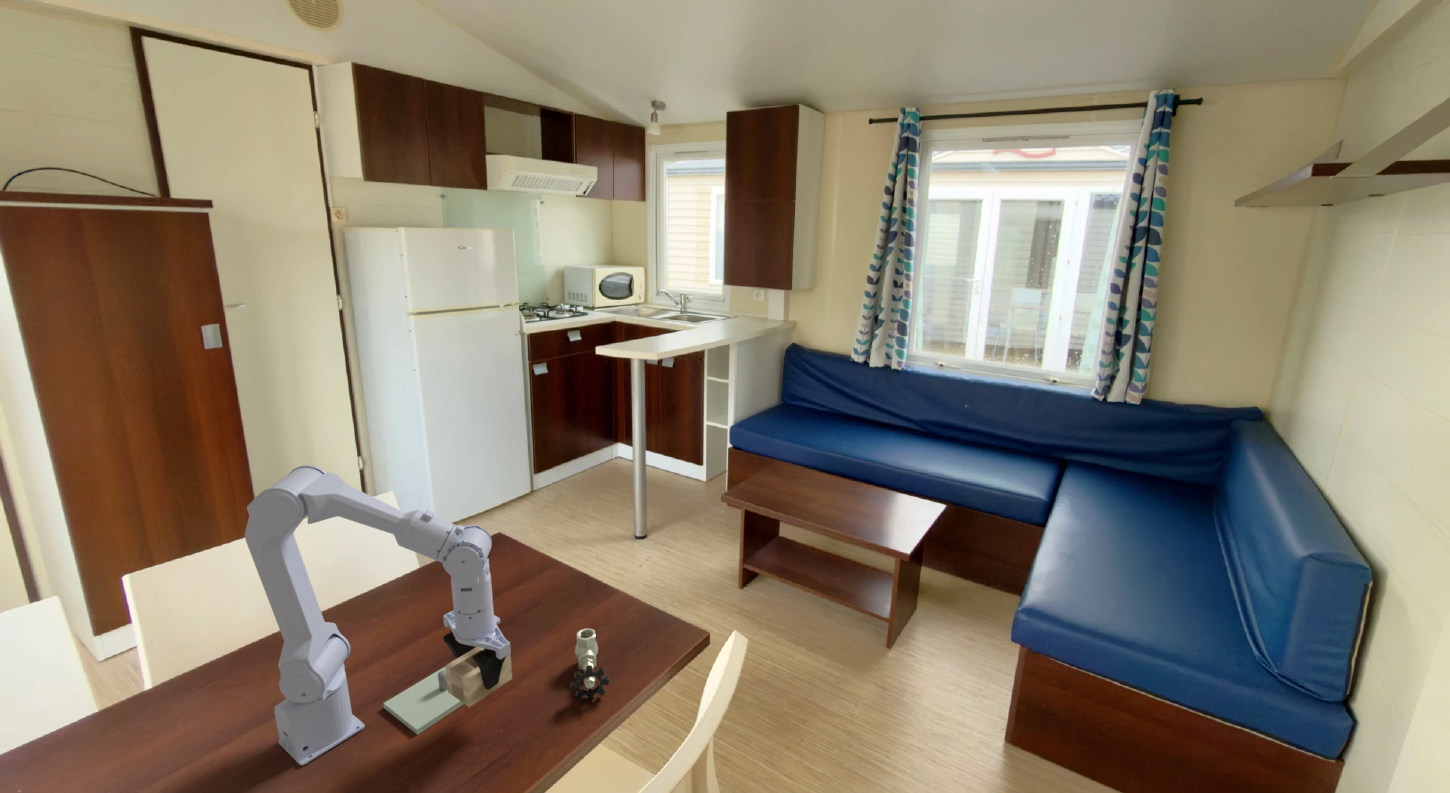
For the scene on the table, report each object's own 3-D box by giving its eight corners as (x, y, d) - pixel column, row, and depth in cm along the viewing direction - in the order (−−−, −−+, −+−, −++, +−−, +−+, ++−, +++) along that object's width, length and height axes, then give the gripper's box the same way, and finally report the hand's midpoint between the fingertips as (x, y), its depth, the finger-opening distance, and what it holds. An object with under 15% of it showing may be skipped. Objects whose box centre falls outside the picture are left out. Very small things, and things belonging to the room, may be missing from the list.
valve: (568, 659, 119) (571, 704, 108) (567, 629, 117) (569, 672, 106) (604, 654, 121) (610, 698, 110) (603, 624, 119) (609, 665, 108)
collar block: (469, 707, 98) (466, 679, 96) (448, 692, 101) (445, 665, 99) (512, 678, 104) (510, 652, 103) (491, 665, 107) (488, 639, 106)
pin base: (417, 734, 101) (414, 713, 100) (384, 708, 106) (381, 688, 105) (501, 678, 114) (500, 659, 113) (468, 657, 119) (466, 639, 118)
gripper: (524, 607, 98) (529, 682, 101) (467, 578, 105) (474, 648, 109) (485, 630, 92) (492, 708, 96) (428, 597, 100) (436, 670, 103)
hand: (480, 677), depth 102 cm, fingers closed on collar block, 6 cm apart
